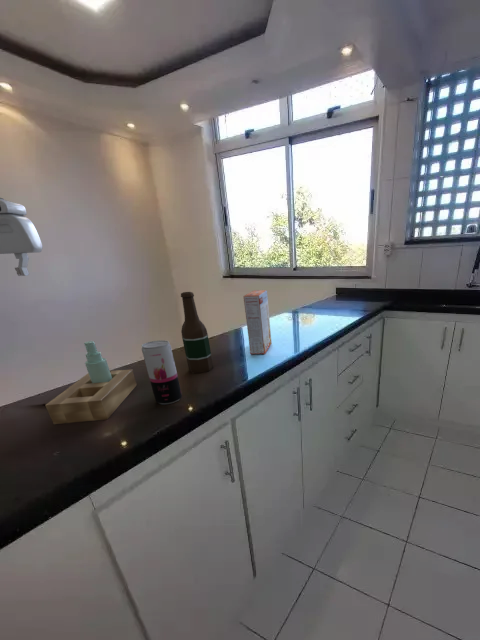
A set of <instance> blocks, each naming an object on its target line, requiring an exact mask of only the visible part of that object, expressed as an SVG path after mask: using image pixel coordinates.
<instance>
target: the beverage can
mask: <svg viewBox="0 0 480 640" xmlns="http://www.w3.org/2000/svg"><path fill="white" fill-rule="evenodd" d="M141 352H142V356H143V360H144V364H145V368H146V370H147V375H148V379H149V382H150V385H151V390H152V393H153V397H154V400H155V403H157V404H159V405H170V404H174V403H177V402H179V401H180V400H181V399H182V398H183V393H182V389H181V384H180V380H179V376H178V372H177V367H176V362H175V358H174V354H173V349H172V345H171V343H170V341H169V340H163V339H161V340H152V341H148V342H145V343H142V344H141Z"/></svg>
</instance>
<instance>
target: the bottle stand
mask: <svg viewBox="0 0 480 640" xmlns="http://www.w3.org/2000/svg"><path fill="white" fill-rule="evenodd" d="M110 373H111V376H112V379H111V380H110V381H109V382H101V383H92V382H91V379H90V376H89V373H88V372H87V373H86V374H85V375H83V376H82V377H81V378H79V379H78V380H77V381H76V382H74V383H73V384H71V385H69V387H68V388H66V389H65V390H64V391H62V392H61V393H59V394H58V395H56V397H54V398H53V399H51V400H50V401H49V402H47V403H46V404H45V408H46V410H47V412H48V414H49V418H50V419H51V422H52V423H53V425H61V424H72V423H83V422H94V421H103V420H104V421H105V420H109V418H111V416H112V415H113V413H115V412H116V410H117V409H118V408H119V407H120V405H121V404H122V403H123V402H124V401H125V400H126V399H127V397H128V396H130V394H131V393H132V391H134V389H135V388H136V387H137V384H138V383H137V380H136V378H135V374H134V370H133V369H132V368H130V369H117V370H110Z"/></svg>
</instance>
